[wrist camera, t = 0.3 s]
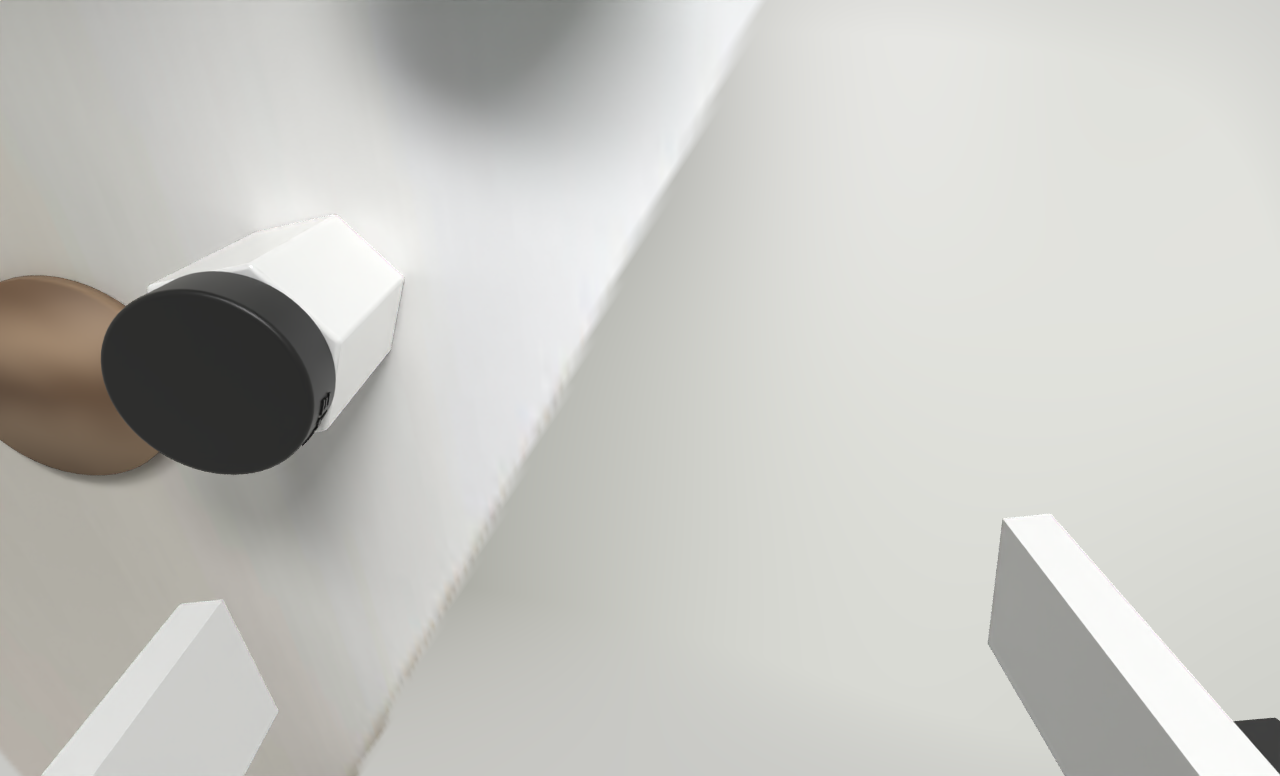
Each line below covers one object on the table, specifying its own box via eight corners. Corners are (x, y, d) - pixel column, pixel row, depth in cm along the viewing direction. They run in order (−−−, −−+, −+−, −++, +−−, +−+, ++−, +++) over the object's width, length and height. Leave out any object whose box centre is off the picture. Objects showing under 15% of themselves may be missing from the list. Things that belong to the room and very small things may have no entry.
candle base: (-86, 298, 39) (-103, 303, 38) (118, 256, 38) (106, 261, 37) (36, 480, 44) (24, 490, 43) (219, 448, 43) (210, 457, 42)
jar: (281, 375, 41) (153, 495, 30) (215, 237, 37) (44, 316, 26) (430, 345, 40) (354, 457, 29) (377, 201, 37) (269, 268, 26)
